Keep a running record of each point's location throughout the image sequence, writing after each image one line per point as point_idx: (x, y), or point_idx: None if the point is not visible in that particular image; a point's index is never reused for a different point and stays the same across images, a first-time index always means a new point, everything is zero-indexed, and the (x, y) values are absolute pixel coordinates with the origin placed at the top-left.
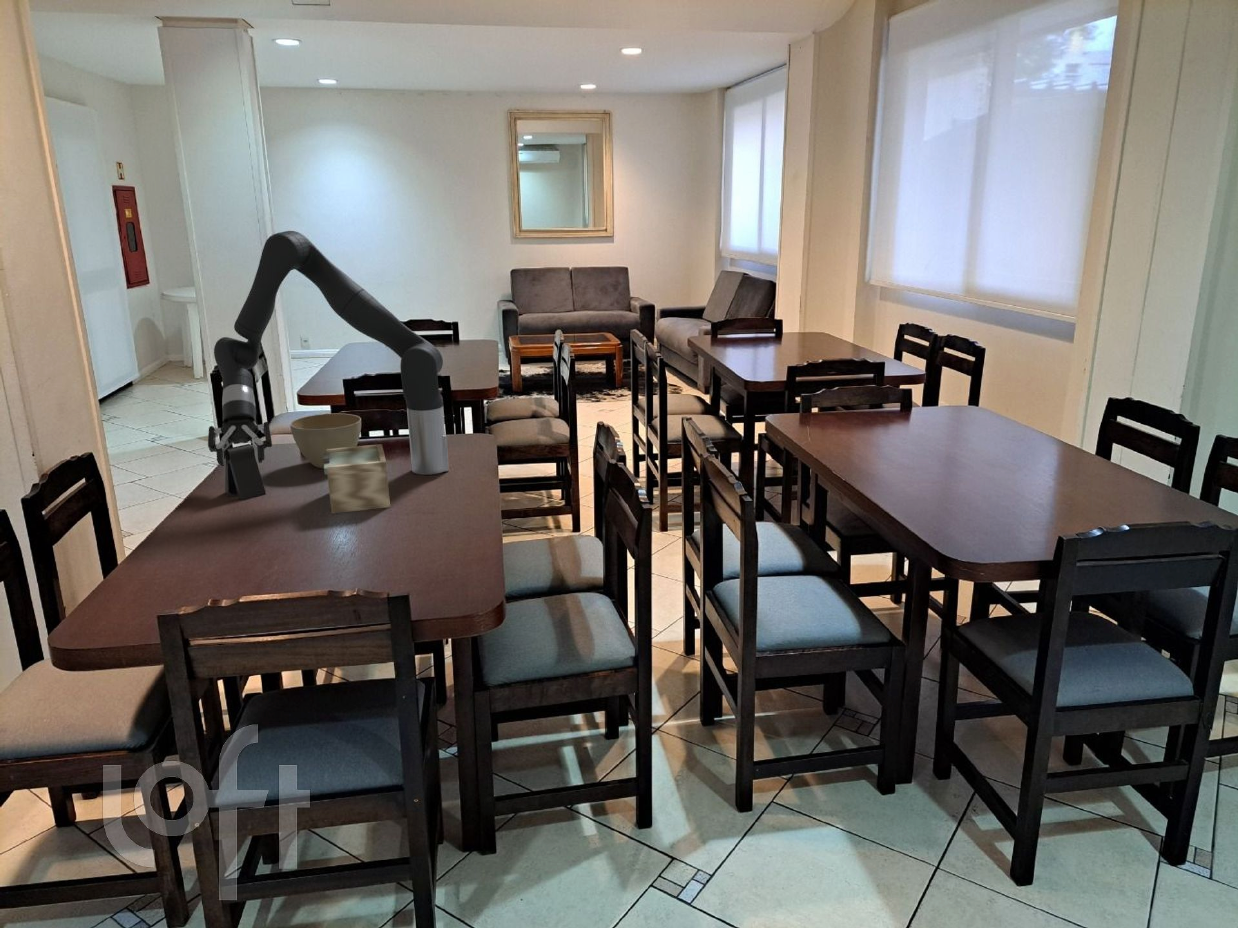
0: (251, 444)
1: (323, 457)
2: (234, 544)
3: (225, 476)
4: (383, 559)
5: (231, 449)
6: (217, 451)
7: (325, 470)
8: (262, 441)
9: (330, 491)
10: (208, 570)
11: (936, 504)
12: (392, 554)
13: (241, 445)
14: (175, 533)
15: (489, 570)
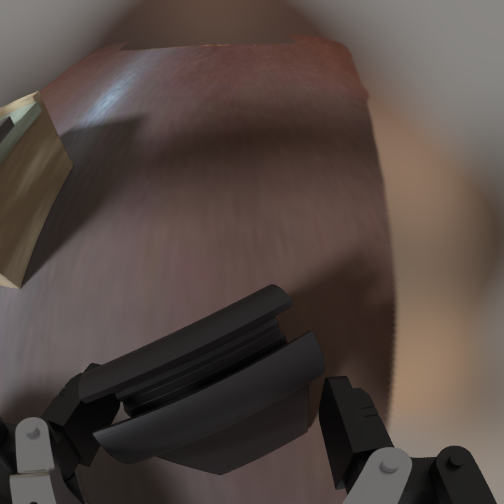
0: (80, 395)
1: (3, 123)
2: (240, 97)
3: (307, 414)
4: (105, 73)
5: (256, 310)
6: (385, 444)
7: (37, 105)
8: (15, 433)
9: (54, 132)
10: (265, 66)
11: None
12: (93, 79)
13: (163, 406)
14: (354, 150)
15: (65, 71)
